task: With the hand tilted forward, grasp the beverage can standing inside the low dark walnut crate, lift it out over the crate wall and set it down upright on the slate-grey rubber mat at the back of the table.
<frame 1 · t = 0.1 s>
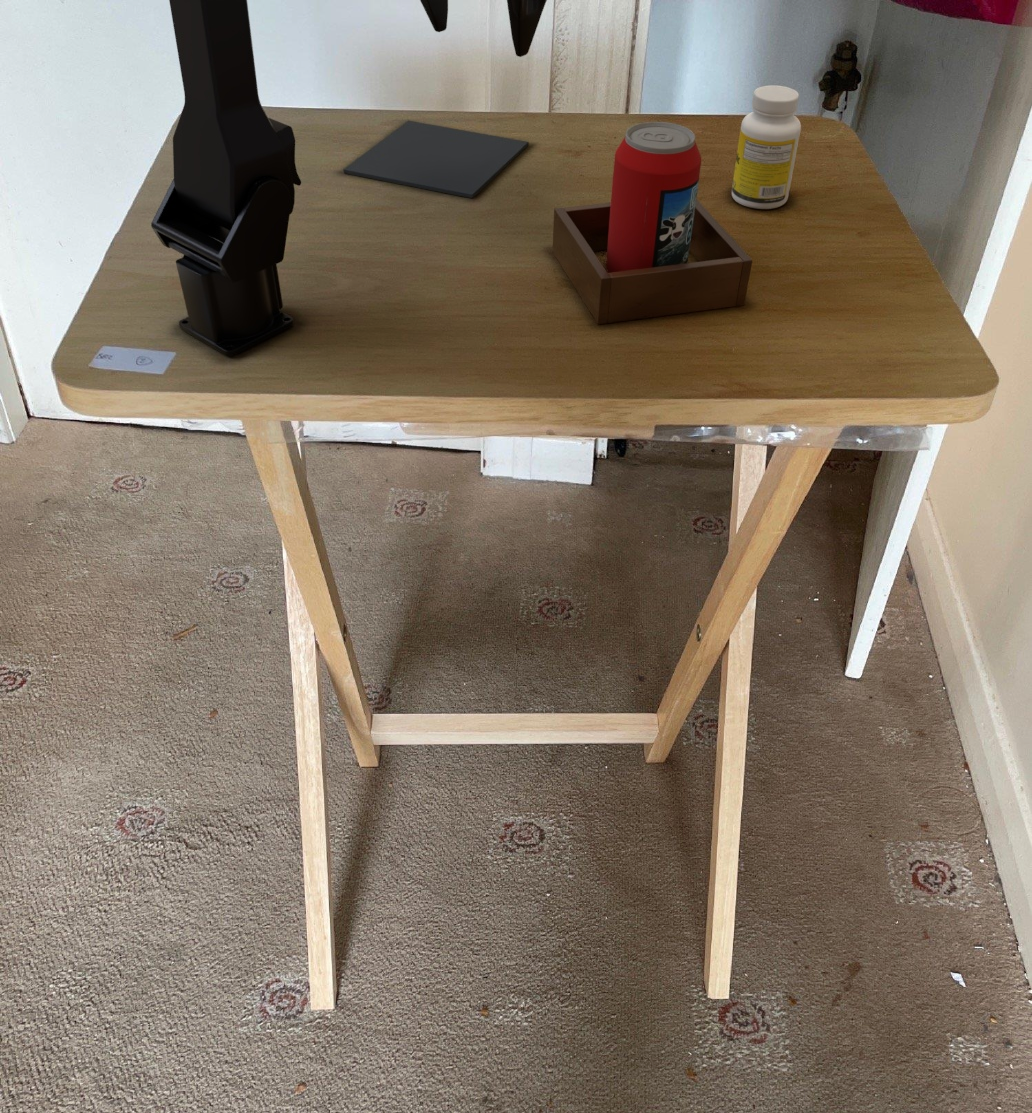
hand: (480, 42, 87), 15 cm above the table, tool pointing down, fingers open, 9 cm apart
crate: (645, 277, 88), on the table
mat: (438, 158, 105), on the table
beverage can: (644, 279, 88), resting in crate
supplement bottle: (758, 200, 99), on the table
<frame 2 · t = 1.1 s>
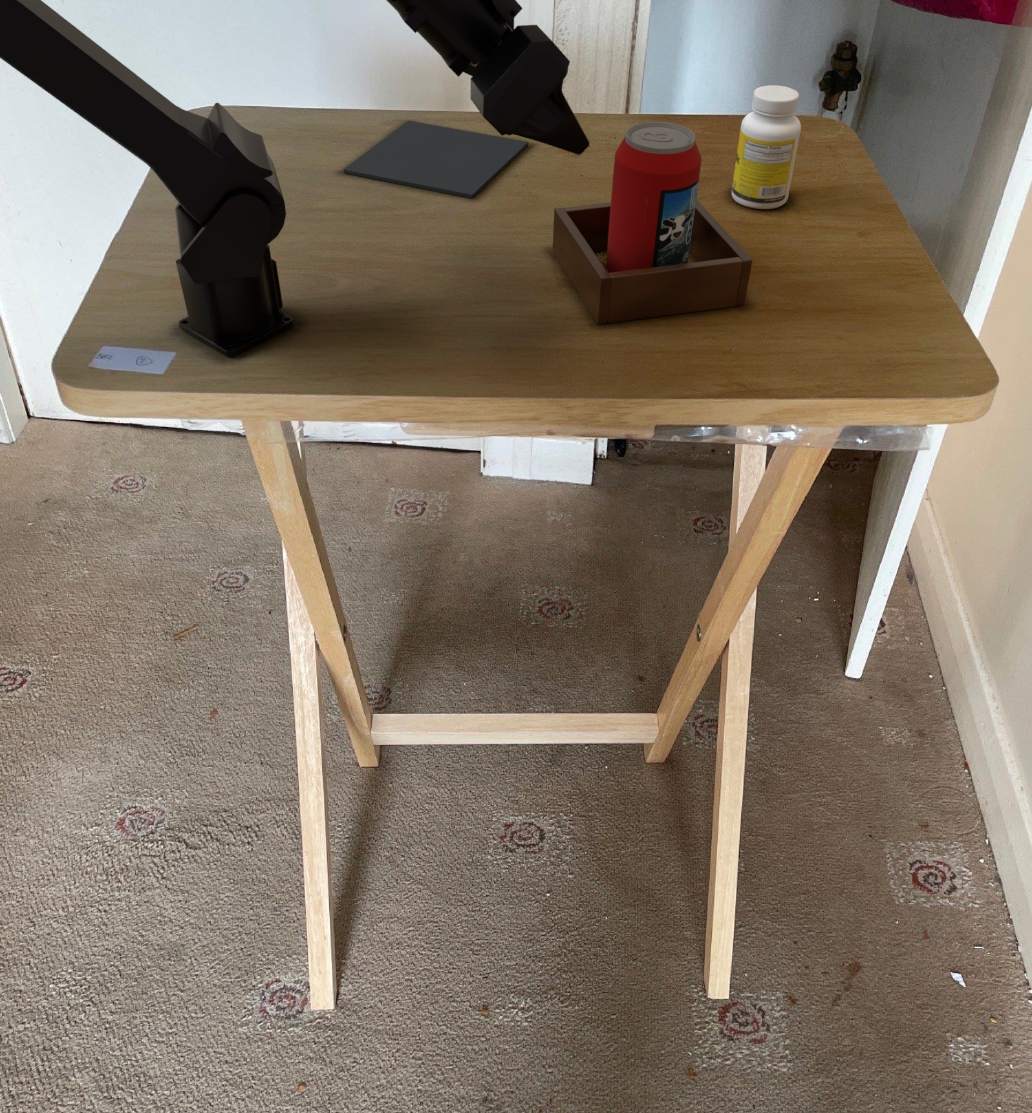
hand: (564, 125, 78), 13 cm above the table, tool tilted 45°, fingers open, 9 cm apart
nothing on the table moved.
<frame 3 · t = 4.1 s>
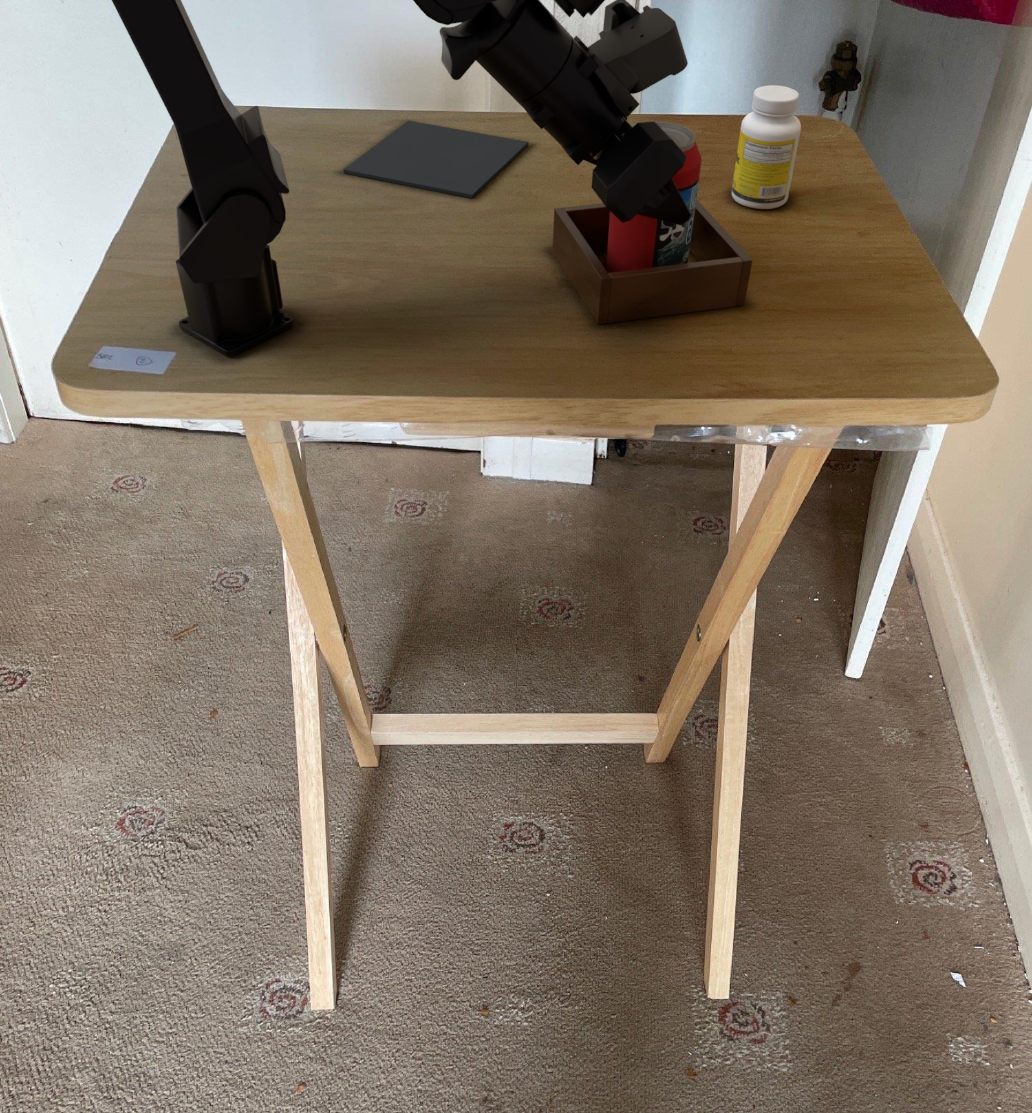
hand: (669, 200, 83), 7 cm above the table, tool tilted 45°, fingers closed on beverage can, 7 cm apart
beverage can: (644, 279, 88), resting in crate, touching gripper
everything else where it was.
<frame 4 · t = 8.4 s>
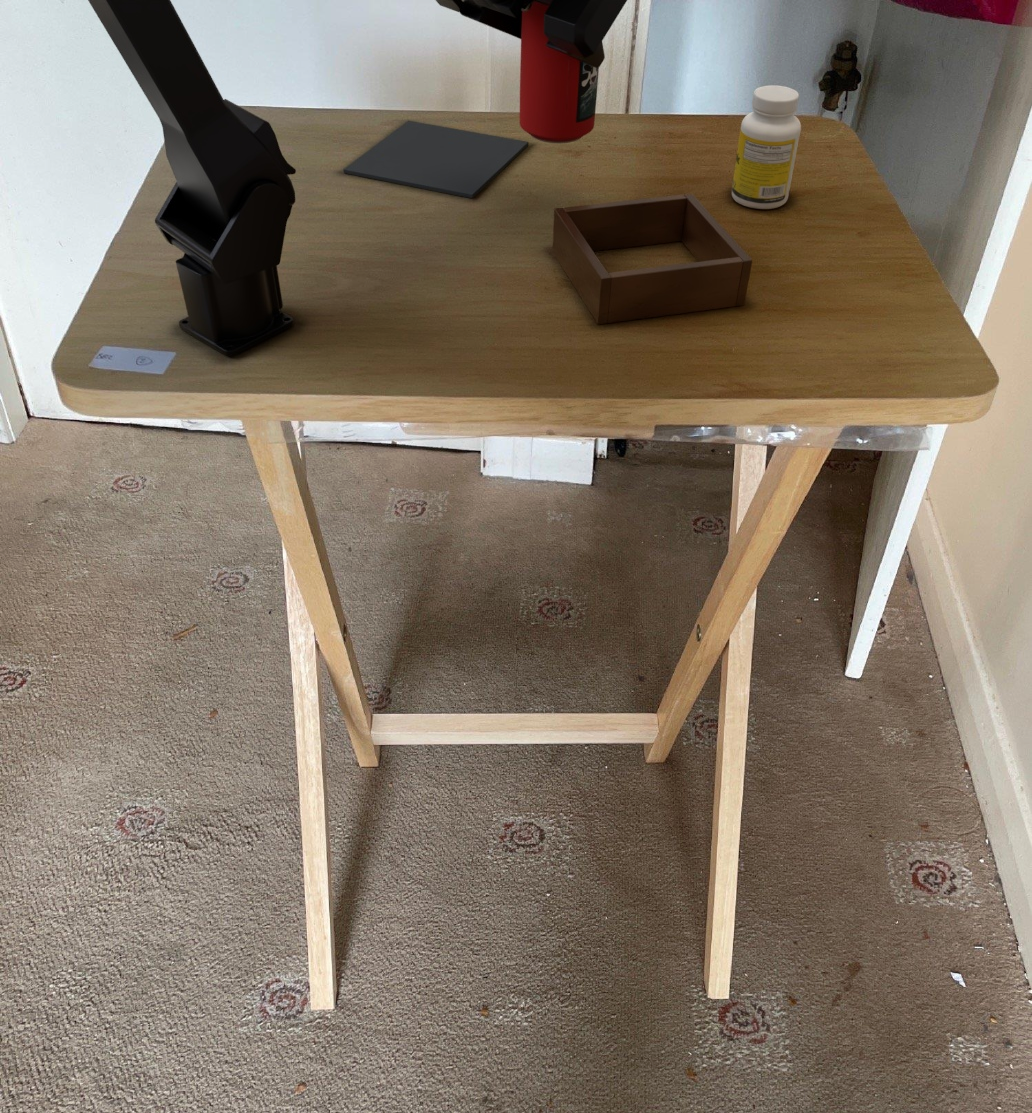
hand: (571, 51, 89), 13 cm above the table, tool tilted 45°, fingers closed on beverage can, 7 cm apart
beverage can: (556, 135, 93), point 6 cm above the table, touching gripper
everything else where it was.
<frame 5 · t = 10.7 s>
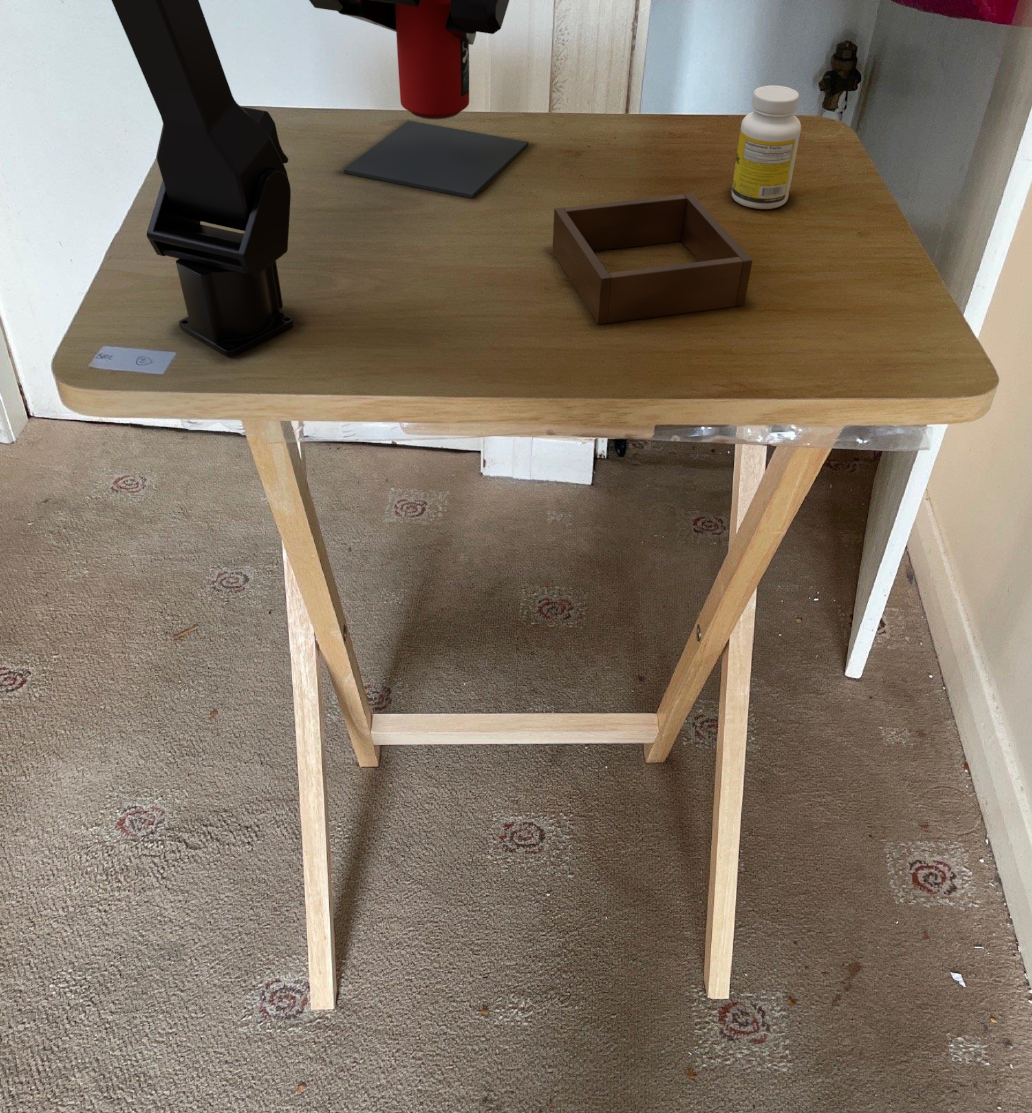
hand: (439, 34, 98), 11 cm above the table, tool tilted 45°, fingers closed on beverage can, 7 cm apart
beverage can: (435, 112, 102), point 5 cm above the table, touching gripper
everything else where it was.
when the fingers open (7 cm above the table, at t = 12.5 s): beverage can stays where it is, resting on mat.
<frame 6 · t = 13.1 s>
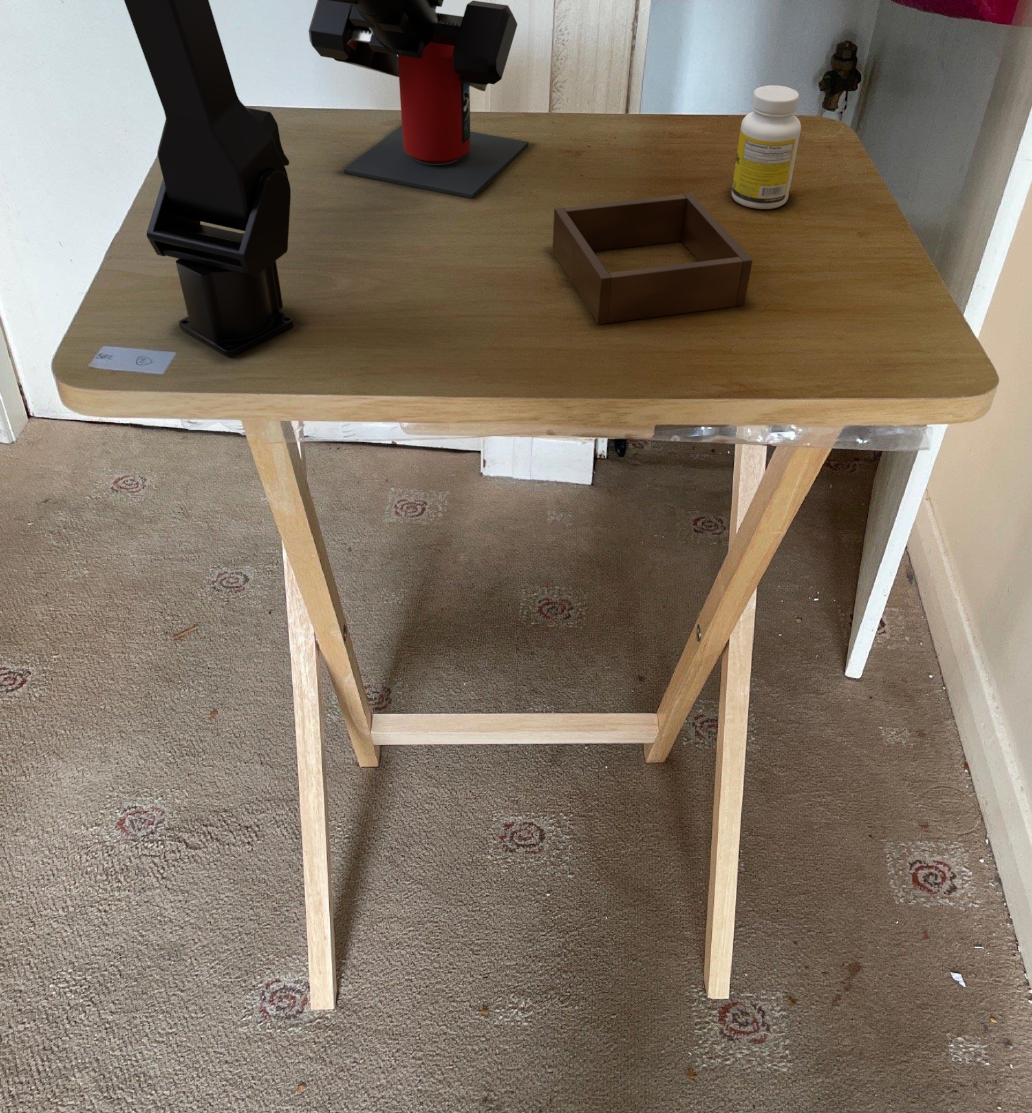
hand: (441, 78, 101), 7 cm above the table, tool tilted 45°, fingers open, 9 cm apart
beverage can: (437, 157, 105), resting on mat
everything else where it was.
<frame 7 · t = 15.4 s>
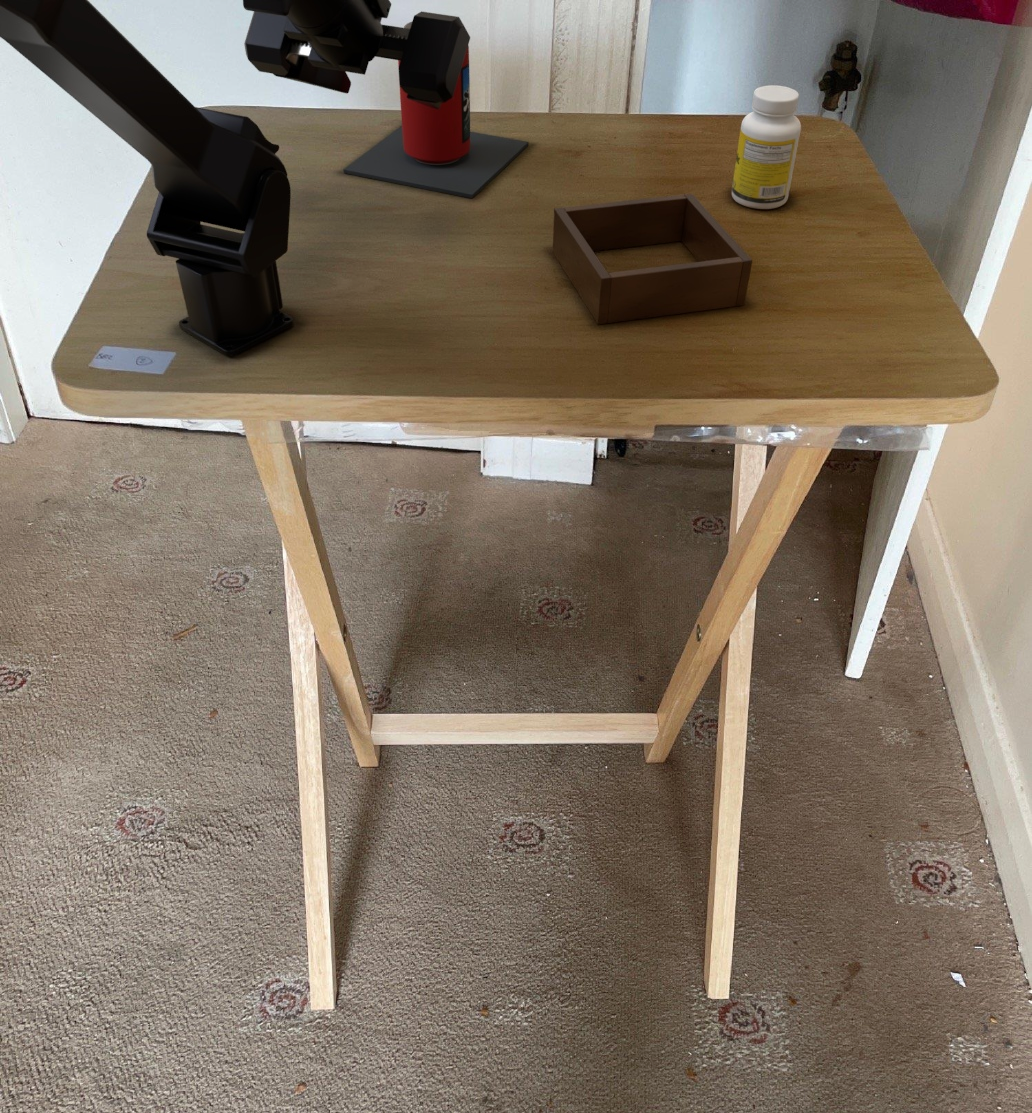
hand: (393, 95, 93), 9 cm above the table, tool tilted 45°, fingers open, 9 cm apart
nothing on the table moved.
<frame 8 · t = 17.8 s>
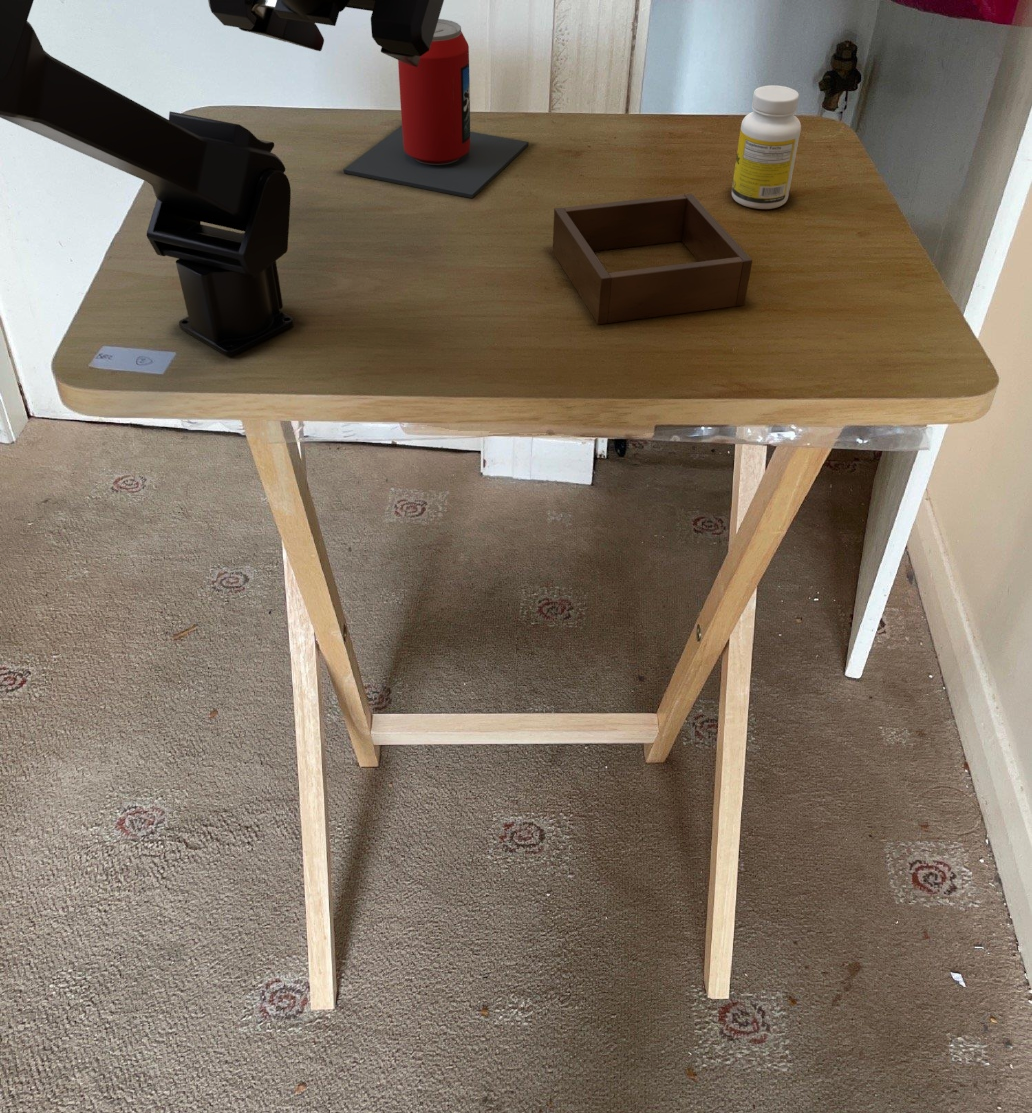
hand: (368, 52, 88), 14 cm above the table, tool tilted 45°, fingers open, 9 cm apart
nothing on the table moved.
at the end: beverage can inside the target area on the mat (0.1 cm from its centre), point 0.2 cm above the mat's base; beverage can tilted 0°; the gripper is holding nothing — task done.
